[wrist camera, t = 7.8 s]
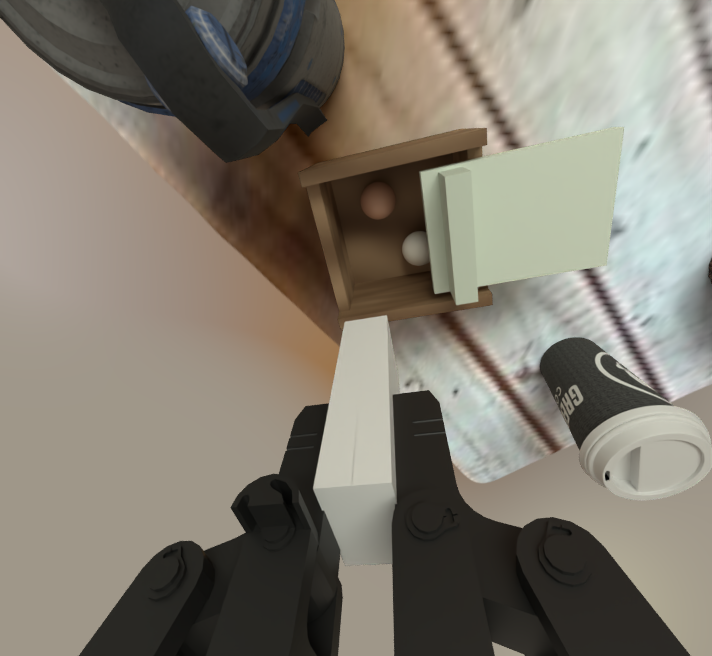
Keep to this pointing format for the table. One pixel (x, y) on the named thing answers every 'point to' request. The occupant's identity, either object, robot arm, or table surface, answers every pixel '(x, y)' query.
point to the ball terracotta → (378, 200)
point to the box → (384, 227)
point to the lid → (521, 212)
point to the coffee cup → (624, 424)
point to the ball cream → (416, 248)
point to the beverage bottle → (196, 60)
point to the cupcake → (710, 271)
